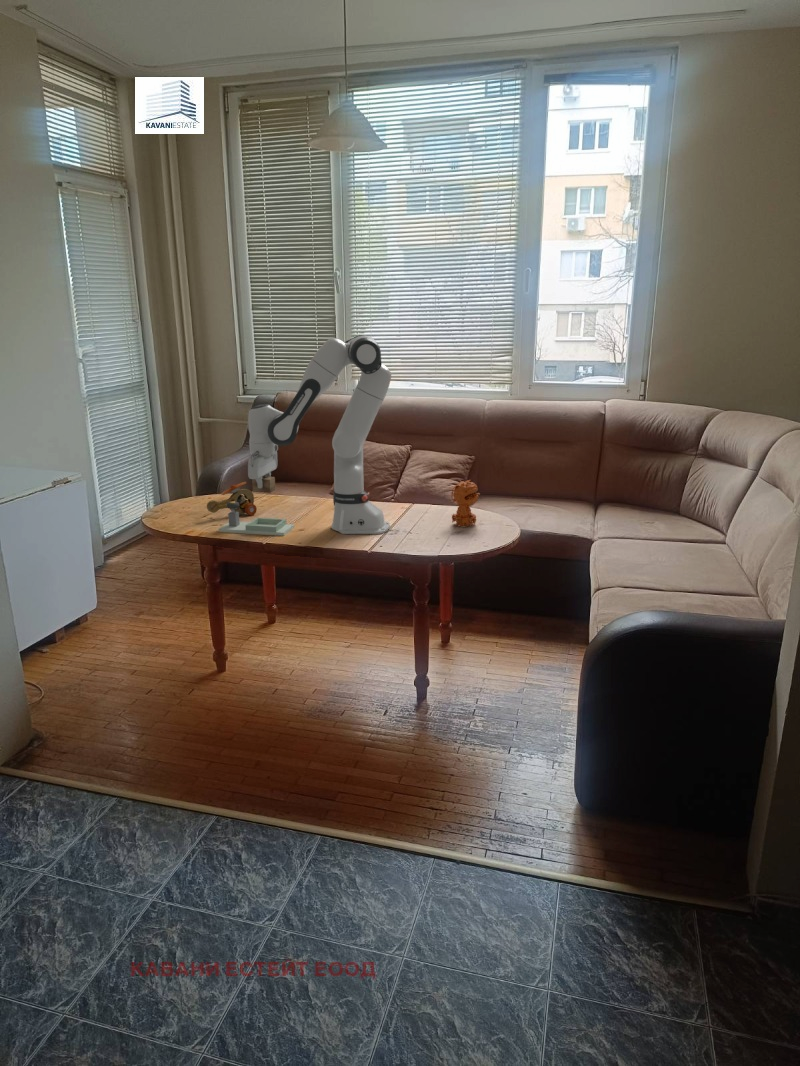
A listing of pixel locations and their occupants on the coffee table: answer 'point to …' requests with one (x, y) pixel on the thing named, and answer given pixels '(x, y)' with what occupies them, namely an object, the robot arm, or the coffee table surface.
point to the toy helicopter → (244, 504)
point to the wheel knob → (233, 506)
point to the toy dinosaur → (464, 502)
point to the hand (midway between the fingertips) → (263, 485)
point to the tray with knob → (256, 526)
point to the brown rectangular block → (267, 483)
